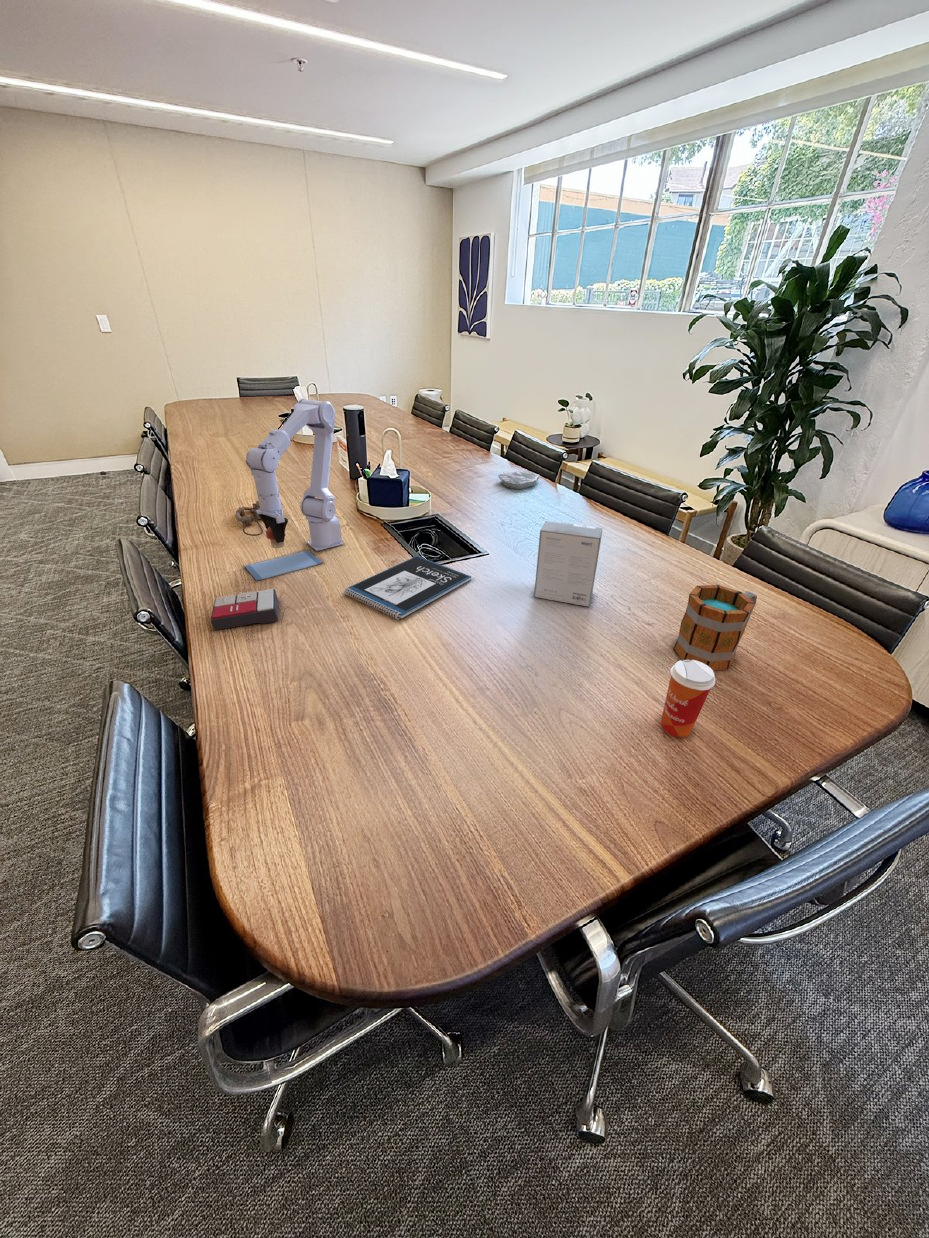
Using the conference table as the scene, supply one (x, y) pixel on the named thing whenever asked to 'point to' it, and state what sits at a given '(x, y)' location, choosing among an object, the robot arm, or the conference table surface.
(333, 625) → the conference table surface
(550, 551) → the hard drive box
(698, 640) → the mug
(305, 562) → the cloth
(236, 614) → the grey and red box
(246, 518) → the telephone
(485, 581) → the conference table surface
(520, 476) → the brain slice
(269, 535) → the mushroom
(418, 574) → the sketchbook
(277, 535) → the robot arm
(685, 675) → the paper cup
